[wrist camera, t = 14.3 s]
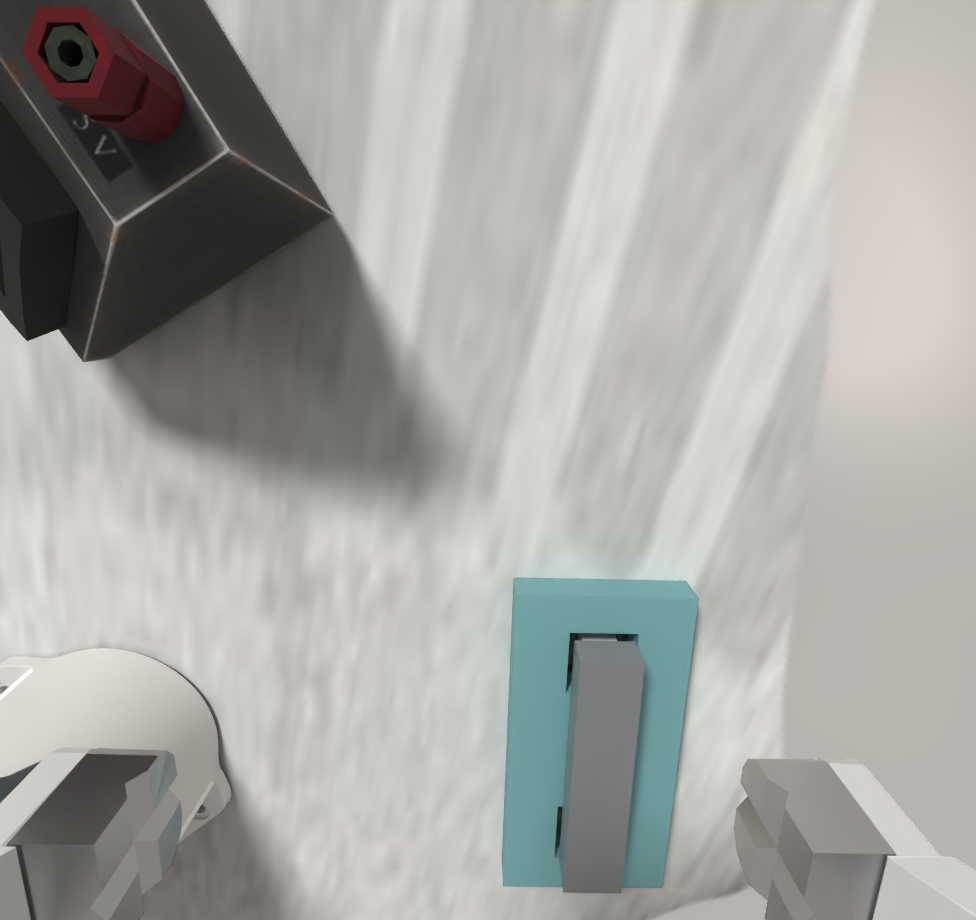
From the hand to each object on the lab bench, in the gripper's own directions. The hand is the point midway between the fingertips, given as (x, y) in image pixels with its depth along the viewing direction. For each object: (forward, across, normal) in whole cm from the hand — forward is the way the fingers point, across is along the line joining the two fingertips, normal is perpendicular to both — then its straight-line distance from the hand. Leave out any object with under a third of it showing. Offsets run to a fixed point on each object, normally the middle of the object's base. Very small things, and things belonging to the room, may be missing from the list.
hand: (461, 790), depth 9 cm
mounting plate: (+31, +9, -24) cm, 40 cm away
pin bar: (+31, +9, -23) cm, 40 cm away
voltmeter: (+31, -20, +14) cm, 40 cm away
